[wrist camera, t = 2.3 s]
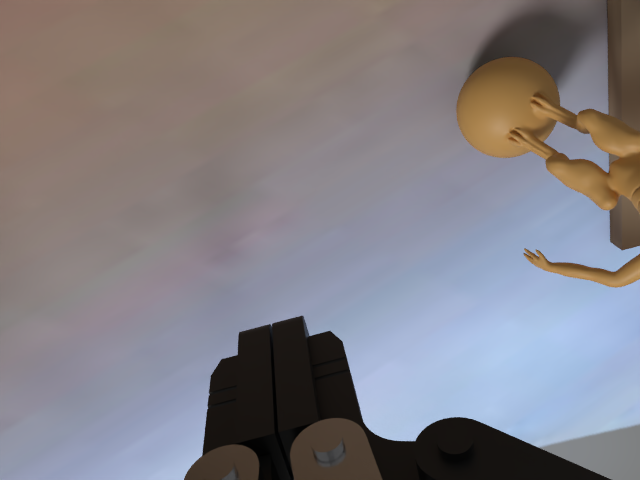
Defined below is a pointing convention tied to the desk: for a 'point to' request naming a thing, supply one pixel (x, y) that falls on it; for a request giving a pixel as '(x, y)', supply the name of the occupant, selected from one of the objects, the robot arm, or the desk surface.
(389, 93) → the desk surface
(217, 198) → the desk surface
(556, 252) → the desk surface
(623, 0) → the bar
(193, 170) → the desk surface
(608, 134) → the figurine
